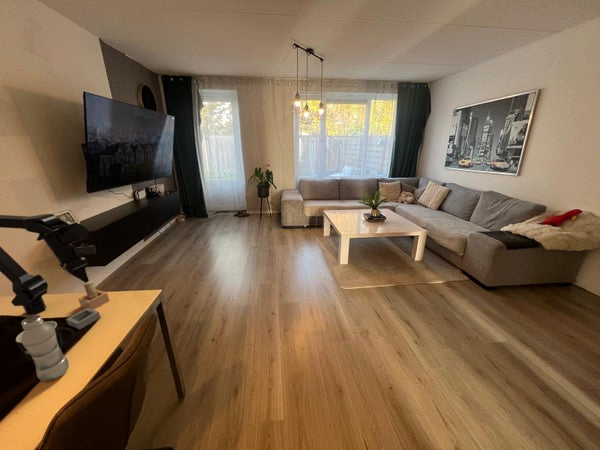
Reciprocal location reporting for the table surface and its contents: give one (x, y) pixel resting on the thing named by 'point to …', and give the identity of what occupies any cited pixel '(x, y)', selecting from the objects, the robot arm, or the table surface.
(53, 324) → the mug
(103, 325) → the table surface
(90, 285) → the dowel
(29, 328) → the plastic bottle
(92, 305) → the square box
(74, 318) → the socket block
